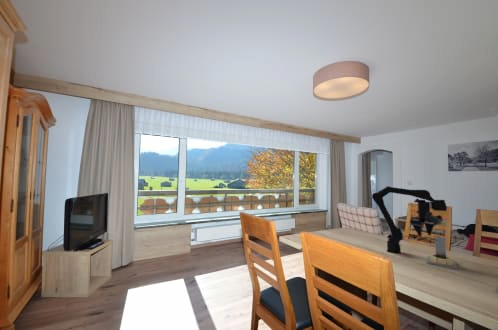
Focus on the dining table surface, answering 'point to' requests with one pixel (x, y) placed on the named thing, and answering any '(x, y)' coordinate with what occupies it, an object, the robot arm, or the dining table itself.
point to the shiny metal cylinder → (440, 247)
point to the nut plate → (441, 261)
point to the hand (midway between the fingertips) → (424, 235)
